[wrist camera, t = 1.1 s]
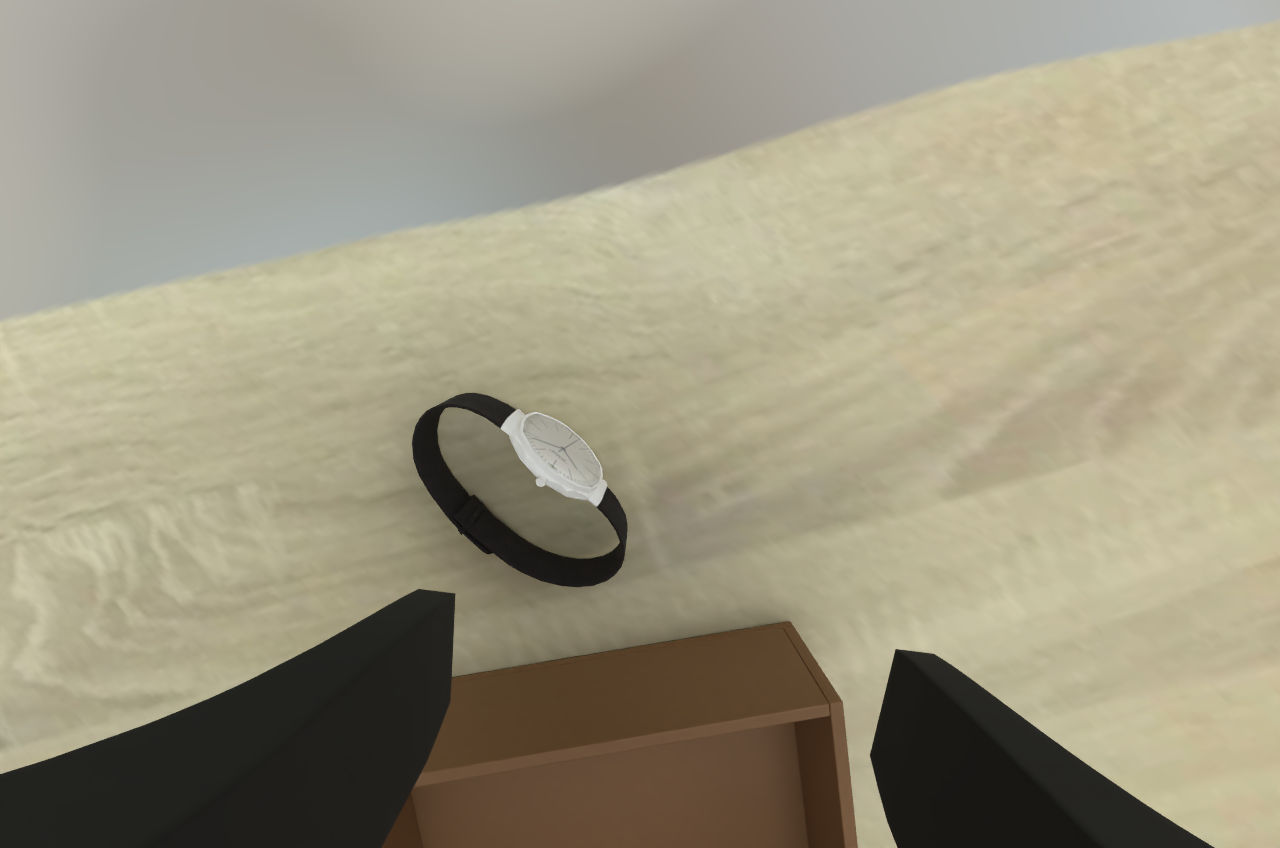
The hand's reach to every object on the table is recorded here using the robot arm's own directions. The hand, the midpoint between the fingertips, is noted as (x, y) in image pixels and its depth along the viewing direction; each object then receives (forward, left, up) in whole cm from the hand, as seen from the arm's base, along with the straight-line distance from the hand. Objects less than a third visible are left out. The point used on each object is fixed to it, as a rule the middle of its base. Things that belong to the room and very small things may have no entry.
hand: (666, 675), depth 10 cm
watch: (-3, +1, -12) cm, 12 cm away
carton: (-2, -11, -12) cm, 16 cm away
